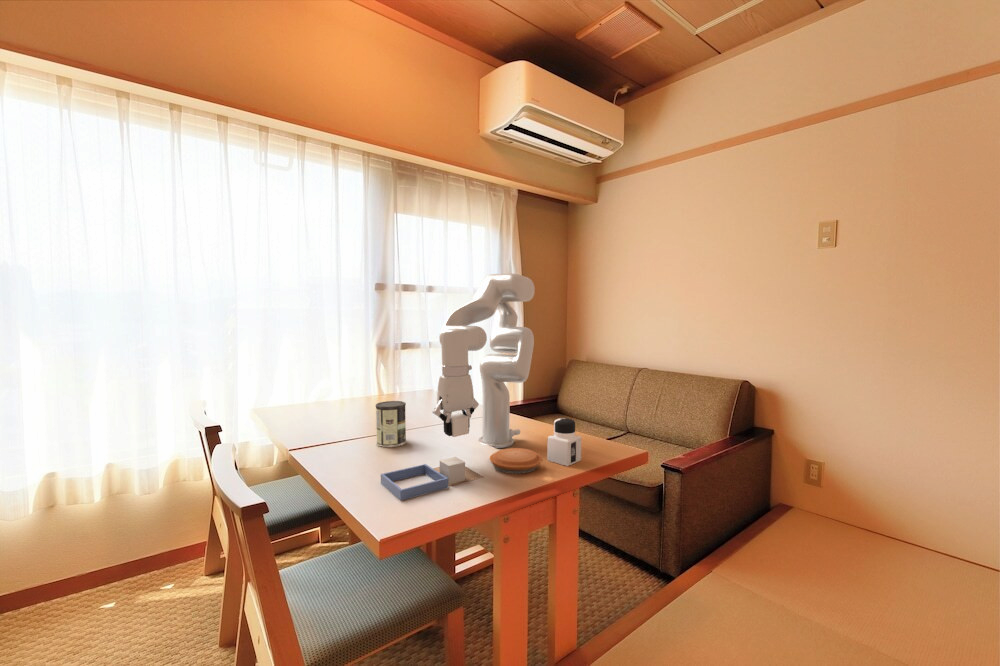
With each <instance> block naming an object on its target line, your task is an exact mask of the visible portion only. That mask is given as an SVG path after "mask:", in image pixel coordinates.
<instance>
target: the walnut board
mask: <svg viewBox="0 0 1000 666" xmlns="http://www.w3.org/2000/svg"><path fill="white" fill-rule="evenodd" d="M432 468H433V469H434V470H436V471H437V472H439V473H440V466H438V467H432ZM482 478H484V476H483V475H481V474H480V473H478V472H476V471H474V470H473V469H471V468H469V467H467V466H466V465H465V481H461V482H457V483H453V484H450V485H448V487H453V486H456V485H460V484H464V483H468V482H471V481H475V480H479V479H482Z"/></svg>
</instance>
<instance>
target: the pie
mask: <svg viewBox="0 0 1000 666" xmlns="http://www.w3.org/2000/svg"><path fill="white" fill-rule="evenodd" d="M489 461H490V463H491V464H492V465H493V466H494V468H495V469H496V470H498V471H500V472H503V473H506V474H507V473H509V474H526V473H530V472H533V471H534V470H537V468H538V466H539V465H540V464H541V463H542V462H543V457H542V456H541V455H540V454H539V453H537V452H535V451H533V450H531V449H527V448H521V447H512V448H509V447H507V448H502V449H499V450H497V451H496V452H494V453H492V454H491V455H490V456H489Z"/></svg>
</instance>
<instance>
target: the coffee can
mask: <svg viewBox="0 0 1000 666" xmlns="http://www.w3.org/2000/svg"><path fill="white" fill-rule="evenodd" d="M406 405H407V404H406V402H405V401H399V400H388V401H387V400H386V401H380V402H378V403H375V411H376V412H375V418H376V419H375V420H376V421H375V422H376V423H375V424H376V425H375V426H376V428H375V430H376V446H378V447H380V446H382V447H381V448H396V447H400V445H401V446H403V445H405V444H406V442H407V437H406V436H407V435H406V433H407V431H406V427H407V426H406Z"/></svg>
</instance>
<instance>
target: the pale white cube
mask: <svg viewBox="0 0 1000 666" xmlns="http://www.w3.org/2000/svg"><path fill="white" fill-rule="evenodd" d="M465 466H466V462H465V461H464V460H462V459H461V458H458V457H456V456H454V457H449V458H445V459H441V460H439V467H440V473H441V474H442V475H444V476H445V477H447V478H448V485H450V484H453V483H457V482H461V481H465Z"/></svg>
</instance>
